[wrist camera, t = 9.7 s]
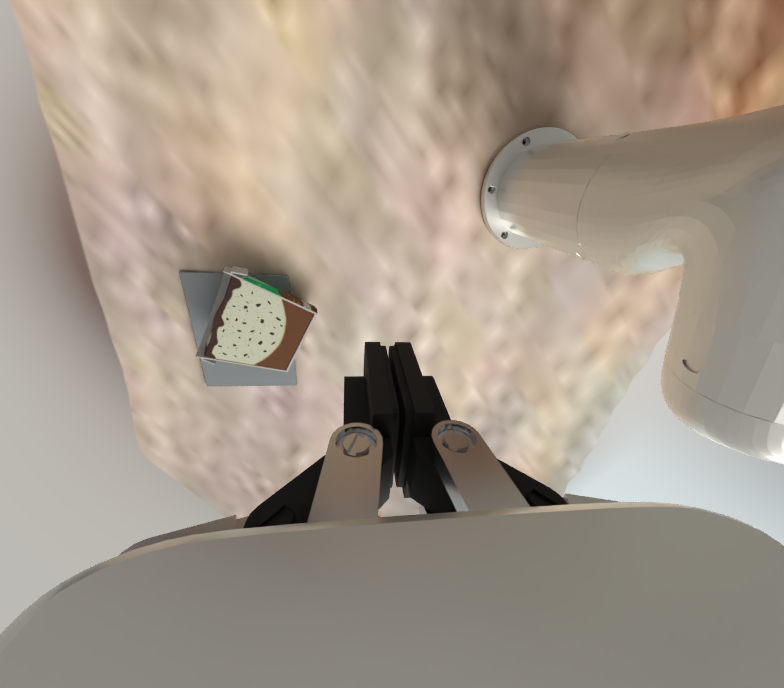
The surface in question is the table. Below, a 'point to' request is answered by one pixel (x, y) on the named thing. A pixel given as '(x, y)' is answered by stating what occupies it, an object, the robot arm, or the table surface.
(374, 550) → the robot arm
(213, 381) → the mat
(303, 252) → the table surface
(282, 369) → the food container
